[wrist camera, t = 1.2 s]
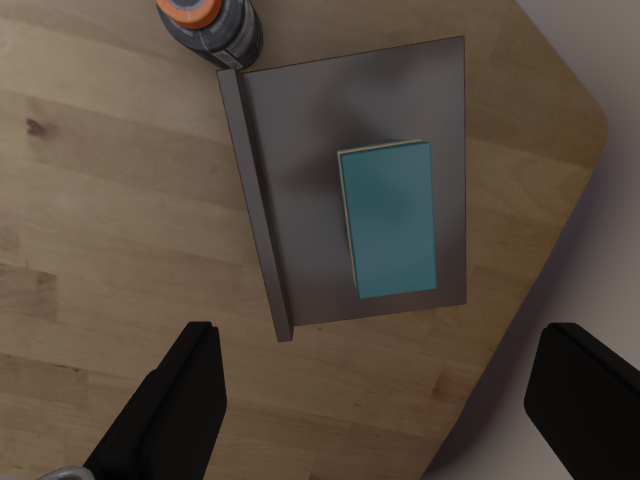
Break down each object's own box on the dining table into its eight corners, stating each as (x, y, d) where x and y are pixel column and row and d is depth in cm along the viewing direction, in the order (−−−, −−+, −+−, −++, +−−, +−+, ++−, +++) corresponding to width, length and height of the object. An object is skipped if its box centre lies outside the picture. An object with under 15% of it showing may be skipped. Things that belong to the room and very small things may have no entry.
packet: (399, 138, 23) (432, 140, 16) (407, 248, 26) (437, 289, 19) (334, 148, 23) (339, 154, 16) (348, 257, 26) (358, 300, 19)
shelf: (419, 65, 30) (479, 25, 19) (428, 259, 37) (477, 317, 25) (253, 93, 31) (215, 70, 20) (290, 278, 37) (277, 342, 26)
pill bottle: (185, 22, 29) (108, -42, 18) (239, -17, 28) (190, -109, 18) (224, 85, 31) (173, 59, 20) (276, 49, 30) (251, 2, 19)
